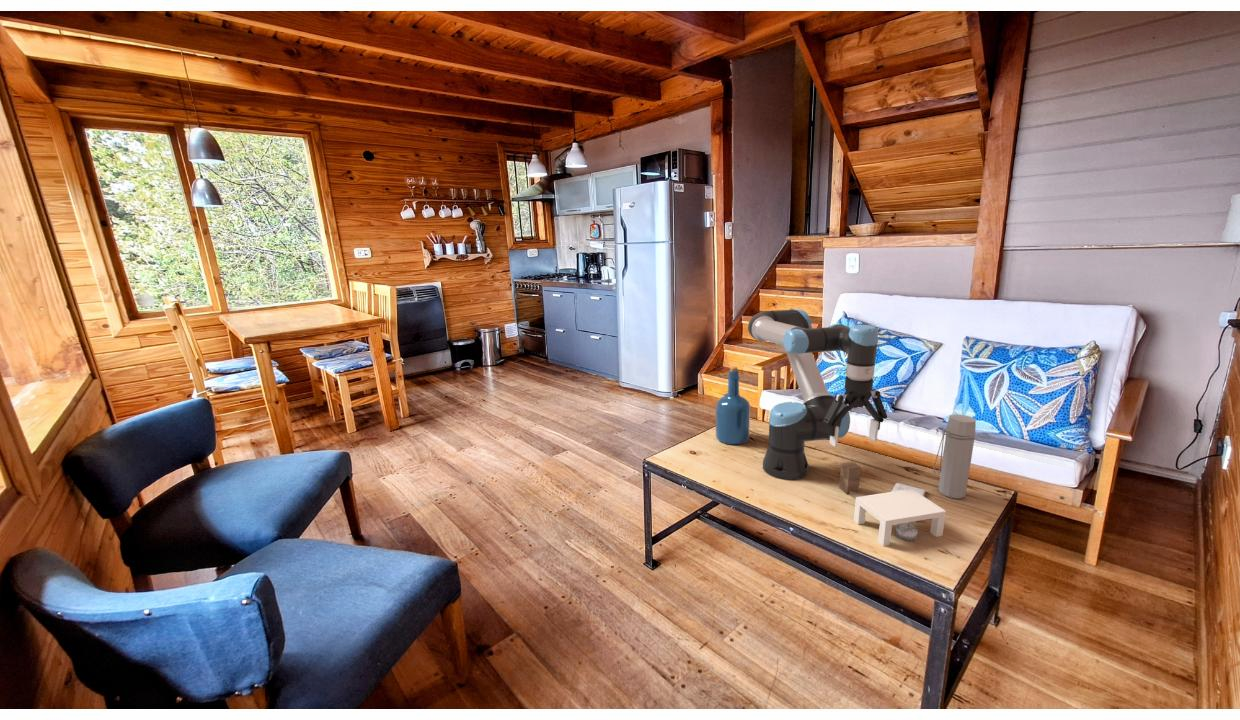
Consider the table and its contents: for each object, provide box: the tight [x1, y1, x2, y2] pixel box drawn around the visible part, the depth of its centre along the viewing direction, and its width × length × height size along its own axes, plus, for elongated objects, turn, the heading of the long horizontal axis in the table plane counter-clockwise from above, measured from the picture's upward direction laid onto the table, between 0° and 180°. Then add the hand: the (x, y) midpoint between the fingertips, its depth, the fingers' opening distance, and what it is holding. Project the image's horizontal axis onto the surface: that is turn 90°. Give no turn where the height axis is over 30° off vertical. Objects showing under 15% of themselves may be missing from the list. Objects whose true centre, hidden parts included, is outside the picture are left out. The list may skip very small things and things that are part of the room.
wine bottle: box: [715, 366, 751, 445], centre depth 193 cm, size 14×13×30 cm
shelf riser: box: [853, 489, 947, 547], centre depth 134 cm, size 12×18×8 cm, turn 101°
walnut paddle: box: [838, 460, 866, 501], centre depth 146 cm, size 20×4×9 cm, turn 11°
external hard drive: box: [890, 482, 926, 497], centre depth 150 cm, size 2×8×12 cm
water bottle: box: [933, 413, 977, 499], centre depth 148 cm, size 9×8×25 cm
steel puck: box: [895, 522, 919, 542], centre depth 131 cm, size 5×5×2 cm
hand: (853, 442), depth 151 cm, fingers open, 13 cm apart
